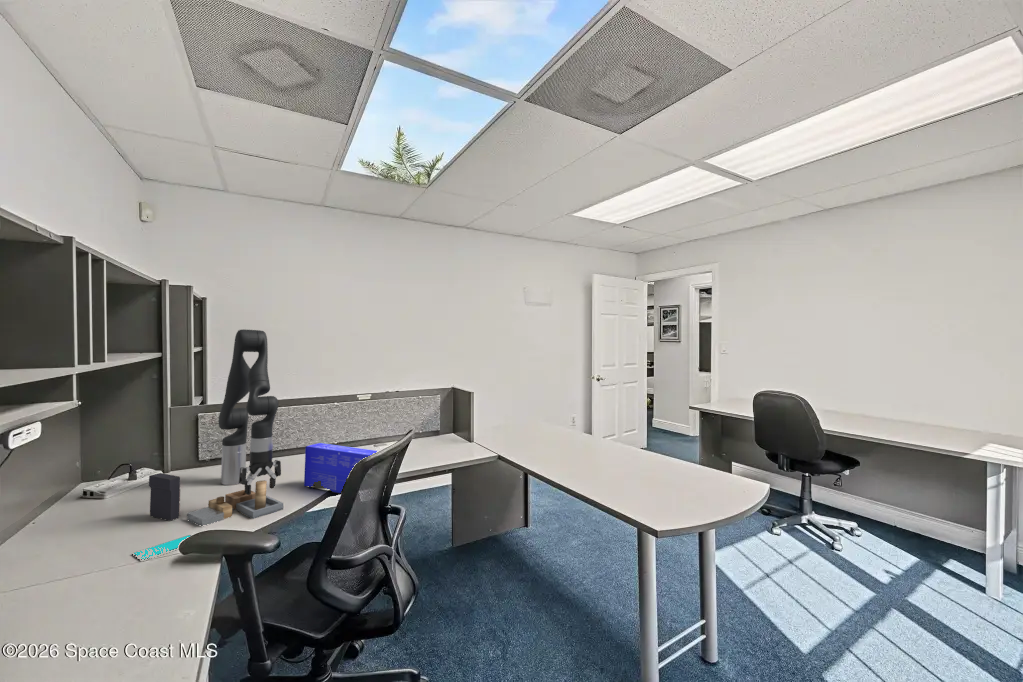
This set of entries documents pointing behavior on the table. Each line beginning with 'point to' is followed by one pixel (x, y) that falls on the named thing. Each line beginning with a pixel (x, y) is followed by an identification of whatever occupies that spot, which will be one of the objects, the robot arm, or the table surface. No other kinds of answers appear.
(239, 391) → the robot arm
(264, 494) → the dowel
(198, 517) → the grey rectangular block
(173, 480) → the tall lidded box
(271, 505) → the tray
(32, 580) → the table surface
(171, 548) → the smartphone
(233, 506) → the socket block
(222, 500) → the stop block
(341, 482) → the toner cartridge box
